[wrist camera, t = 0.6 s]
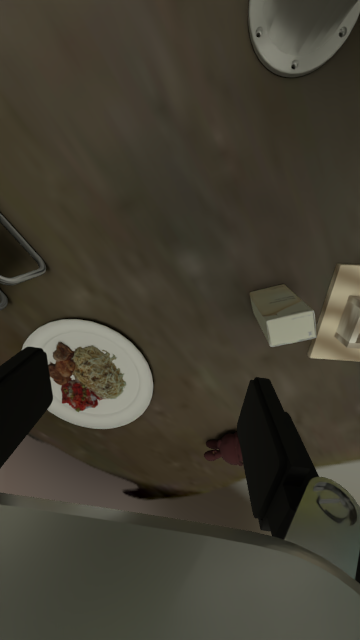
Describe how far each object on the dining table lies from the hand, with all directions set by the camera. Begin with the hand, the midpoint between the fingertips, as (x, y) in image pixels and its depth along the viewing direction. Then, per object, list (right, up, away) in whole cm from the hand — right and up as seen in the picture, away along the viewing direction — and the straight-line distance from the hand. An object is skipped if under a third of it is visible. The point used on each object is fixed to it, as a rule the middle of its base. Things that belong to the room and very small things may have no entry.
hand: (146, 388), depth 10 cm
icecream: (+15, -26, +46) cm, 55 cm away
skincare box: (+17, +7, +31) cm, 36 cm away
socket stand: (+35, +4, +31) cm, 47 cm away
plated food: (-19, -10, +42) cm, 47 cm away
